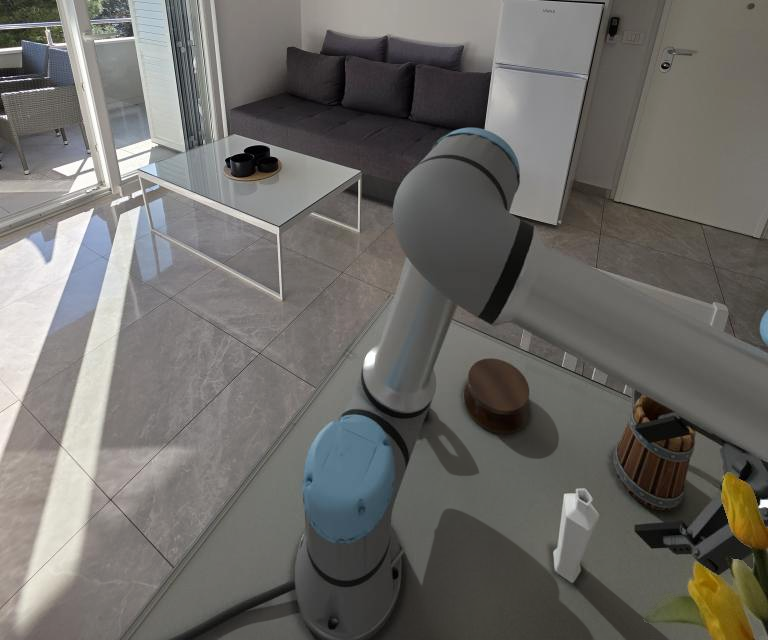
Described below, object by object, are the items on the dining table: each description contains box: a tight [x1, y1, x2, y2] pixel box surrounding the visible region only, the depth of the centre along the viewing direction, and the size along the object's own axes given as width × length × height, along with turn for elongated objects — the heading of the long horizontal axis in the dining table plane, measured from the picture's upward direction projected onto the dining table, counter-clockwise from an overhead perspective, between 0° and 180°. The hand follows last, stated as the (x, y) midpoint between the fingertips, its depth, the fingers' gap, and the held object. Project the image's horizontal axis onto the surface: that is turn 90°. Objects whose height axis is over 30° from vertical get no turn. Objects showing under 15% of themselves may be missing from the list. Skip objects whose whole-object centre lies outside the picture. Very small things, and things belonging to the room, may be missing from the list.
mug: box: [612, 388, 697, 511], centre depth 75 cm, size 16×11×15 cm
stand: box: [462, 357, 530, 435], centre depth 87 cm, size 13×13×5 cm
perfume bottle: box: [552, 487, 600, 584], centre depth 61 cm, size 5×4×15 cm
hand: (642, 480), depth 59 cm, fingers open, 13 cm apart
